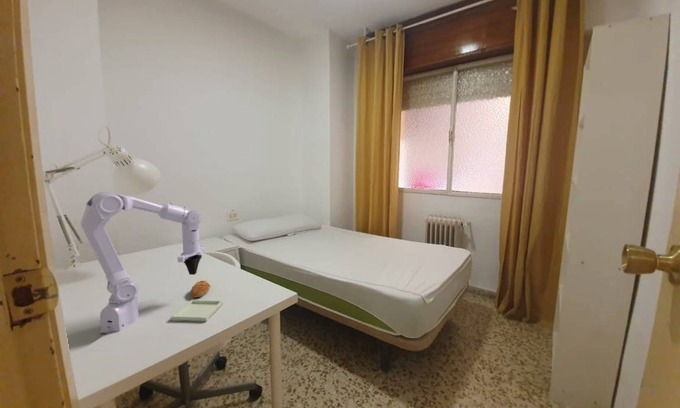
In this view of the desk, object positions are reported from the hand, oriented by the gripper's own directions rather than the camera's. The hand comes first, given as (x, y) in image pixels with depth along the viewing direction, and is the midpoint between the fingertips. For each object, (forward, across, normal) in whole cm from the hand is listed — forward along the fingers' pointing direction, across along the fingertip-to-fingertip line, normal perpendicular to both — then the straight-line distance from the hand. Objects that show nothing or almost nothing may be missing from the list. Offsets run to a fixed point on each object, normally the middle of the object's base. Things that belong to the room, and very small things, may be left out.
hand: (192, 274), depth 104 cm
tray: (+10, -11, -8) cm, 17 cm away
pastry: (+11, +1, +1) cm, 11 cm away
